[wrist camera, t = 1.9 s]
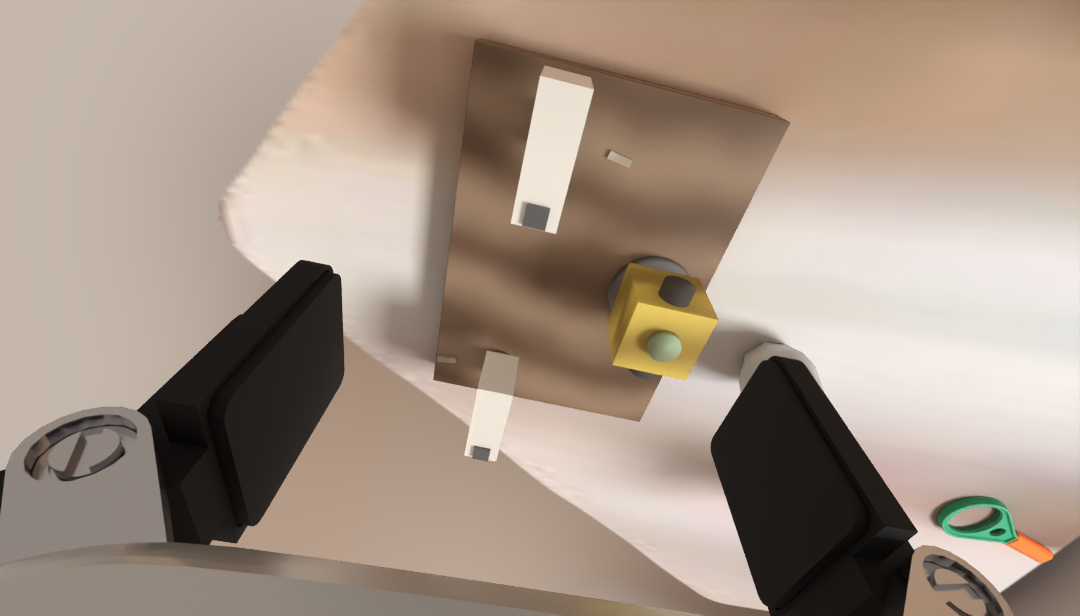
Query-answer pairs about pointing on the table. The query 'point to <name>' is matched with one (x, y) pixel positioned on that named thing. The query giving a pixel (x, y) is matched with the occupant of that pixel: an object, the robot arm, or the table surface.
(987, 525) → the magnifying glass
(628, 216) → the level base
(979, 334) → the table surface
